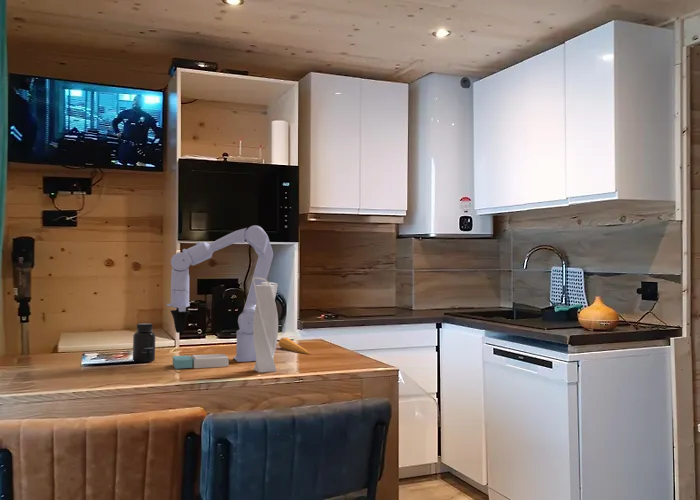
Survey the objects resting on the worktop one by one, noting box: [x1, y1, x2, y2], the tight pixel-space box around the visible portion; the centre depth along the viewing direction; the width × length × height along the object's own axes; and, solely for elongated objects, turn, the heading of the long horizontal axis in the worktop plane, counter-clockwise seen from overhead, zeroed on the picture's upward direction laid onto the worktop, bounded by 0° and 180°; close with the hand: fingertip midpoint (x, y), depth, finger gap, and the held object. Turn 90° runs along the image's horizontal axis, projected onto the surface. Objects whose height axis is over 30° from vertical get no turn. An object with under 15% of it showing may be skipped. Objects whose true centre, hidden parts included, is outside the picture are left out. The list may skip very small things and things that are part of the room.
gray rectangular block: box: [190, 353, 229, 369], centre depth 194 cm, size 10×8×3 cm
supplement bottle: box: [132, 322, 156, 363], centre depth 200 cm, size 7×7×12 cm
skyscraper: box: [251, 277, 279, 373], centre depth 186 cm, size 8×8×28 cm
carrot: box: [278, 337, 312, 355], centre depth 223 cm, size 20×4×4 cm, turn 38°
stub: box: [172, 355, 193, 370], centre depth 191 cm, size 5×8×2 cm, turn 21°
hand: (179, 332), depth 200 cm, fingers closed
